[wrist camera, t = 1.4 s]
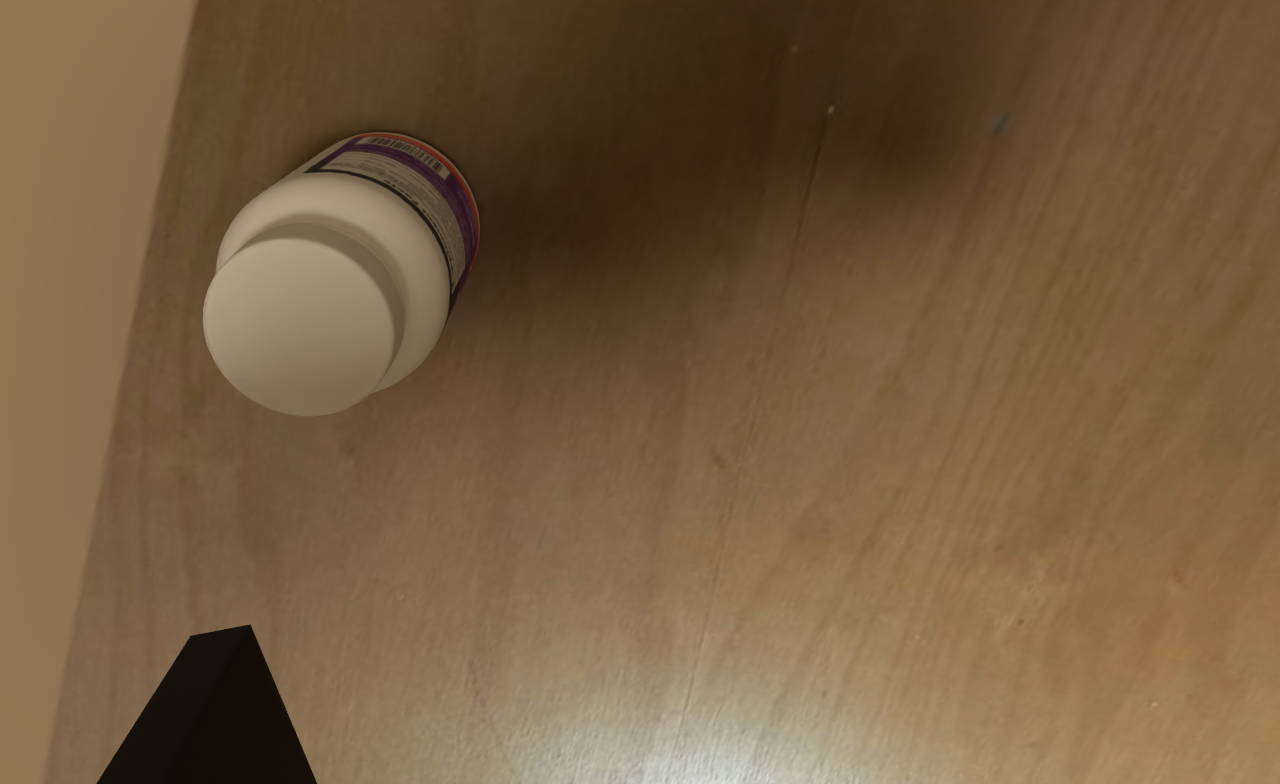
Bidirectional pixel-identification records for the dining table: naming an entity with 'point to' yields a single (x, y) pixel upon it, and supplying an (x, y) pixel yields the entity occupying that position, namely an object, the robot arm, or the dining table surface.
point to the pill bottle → (341, 274)
